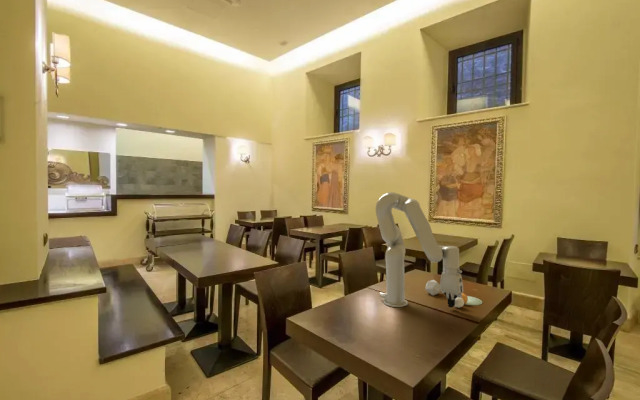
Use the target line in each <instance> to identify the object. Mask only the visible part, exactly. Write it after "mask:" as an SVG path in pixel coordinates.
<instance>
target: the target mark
mask: <svg viewBox="0 0 640 400" xmlns="http://www.w3.org/2000/svg"><path fill="white" fill-rule="evenodd" d="M467 297H468V301H467V302H466V303H465V304H464V305H465V306H466V305H467V306H479V305H482V304H483V301H482V300H481V299H479V298H478V297H474V296H470V295H467Z"/></svg>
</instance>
